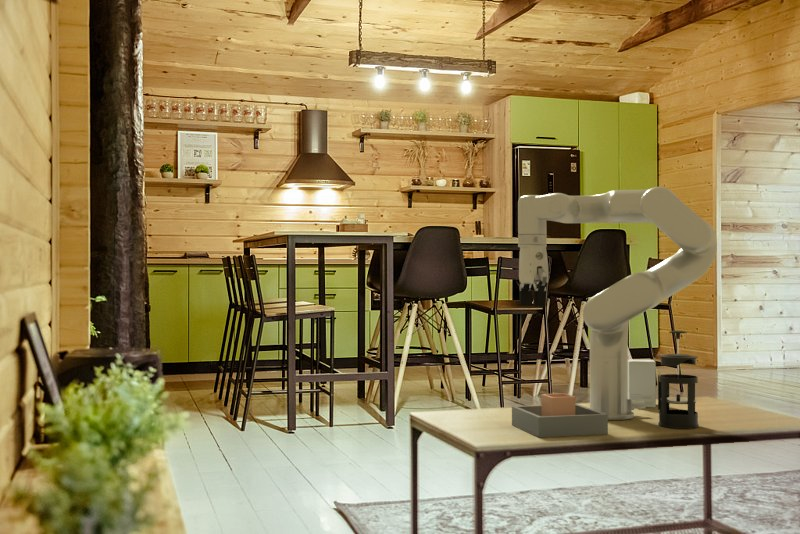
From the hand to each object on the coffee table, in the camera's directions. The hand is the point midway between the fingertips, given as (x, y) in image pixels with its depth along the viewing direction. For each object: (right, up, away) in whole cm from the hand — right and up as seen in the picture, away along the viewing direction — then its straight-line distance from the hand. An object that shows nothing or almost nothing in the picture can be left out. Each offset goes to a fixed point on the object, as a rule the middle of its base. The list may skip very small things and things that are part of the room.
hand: (532, 305), depth 236 cm
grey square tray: (+2, -28, -26) cm, 39 cm away
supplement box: (+32, -29, +12) cm, 45 cm away
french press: (+32, -28, -21) cm, 48 cm away
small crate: (+2, -27, -26) cm, 38 cm away
